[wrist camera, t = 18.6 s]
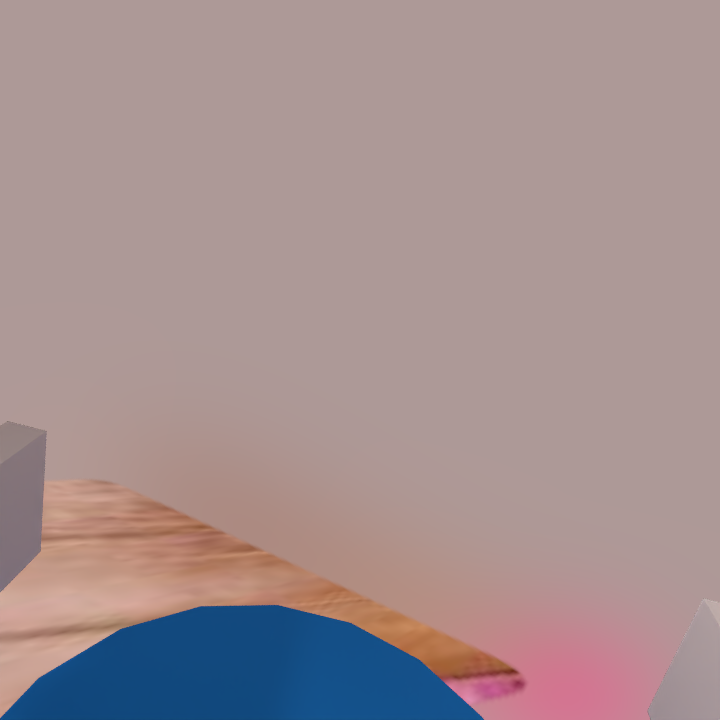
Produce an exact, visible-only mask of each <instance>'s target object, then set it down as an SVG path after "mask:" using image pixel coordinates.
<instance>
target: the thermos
mask: <svg viewBox="0 0 720 720" xmlns="http://www.w3.org/2000/svg"><path fill="white" fill-rule="evenodd" d="M0 720H484V719H483V718H482V717H481V716H480V715H479V714H478V713H477V712H476V711H475V710H474V709H473V708H472V707H470V706H469V705H468V704H467V703H466V702H465V701H464V700H463V699H462V698H461V697H460V696H458V695H457V694H456V693H455V692H454V691H453V690H452V689H451V688H450V687H449V686H447V685H446V684H445V683H444V682H443V681H442V680H441V679H440V678H439V677H438V676H437V675H435V674H434V673H433V672H432V671H431V670H430V669H429V668H428V667H427V666H426V665H424V664H423V663H422V662H421V661H420V660H419V659H417V658H415V657H413V656H411V655H409V654H408V653H406V652H404V651H402V650H400V649H398V648H396V647H395V646H393V645H391V644H389V643H387V642H385V641H383V640H381V639H380V638H378V637H376V636H374V635H372V634H370V633H368V632H366V631H365V630H363V629H361V628H359V627H357V626H355V625H353V624H352V623H349V622H345V621H340V620H336V619H332V618H328V617H324V616H320V615H316V614H312V613H308V612H304V611H299V610H295V609H291V608H287V607H283V606H279V605H256V606H200V607H197V608H193V609H190V610H186V611H183V612H179V613H176V614H172V615H169V616H165V617H162V618H158V619H155V620H151V621H147V622H144V623H140V624H137V625H133V626H130V627H126V628H123V629H120V630H118V631H117V632H115V633H113V634H112V635H110V636H108V637H107V638H105V639H103V640H102V641H100V642H98V643H97V644H95V645H93V646H92V647H90V648H88V649H87V650H85V651H83V652H81V653H80V654H78V655H76V656H75V657H73V658H71V659H70V660H68V661H66V662H65V663H63V664H61V665H60V666H58V667H56V668H55V669H53V670H51V671H50V672H48V673H46V674H45V675H43V676H41V677H40V678H38V679H37V680H36V681H35V682H34V683H33V685H32V686H31V687H30V688H29V689H28V690H27V691H26V692H25V693H24V694H23V695H22V696H21V697H20V698H19V699H18V700H17V701H16V702H15V703H14V704H13V705H12V707H11V708H10V709H9V710H8V711H7V712H6V713H5V714H4V715H3V716H2V717H1V718H0Z"/></svg>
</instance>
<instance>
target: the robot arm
mask: <svg viewBox="0 0 720 720" xmlns="http://www.w3.org/2000/svg"><path fill="white" fill-rule="evenodd" d="M45 451H46V431H44V430H40V429H36V428H32V427H29V426H25V425H21V424H17V423H13V422H8V421H7V422H6V423H4V424H3V425H1V426H0V592H1V591H2V590H3V589H4V588H5V587H6V586H7V585H8V584H9V583H10V582H11V581H12V580H13V579H14V578H15V577H16V576H17V575H18V574H19V573H20V572H21V571H22V570H23V569H24V568H25V567H26V566H27V565H28V564H29V563H30V562H31V561H32V560H33V559H34V557H35V556H36V555H37V554H38V553H39V552H40V551H41V531H42V511H43V491H44V471H45ZM648 714H649V717H650V719H651V720H720V603H719V602H715V601H712V600H708V599H703V600H702V602H701V604H700V606H699V608H698V610H697V612H696V615H695V616H694V619H693V620H692V622H691V624H690V626H689V628H688V630H687V632H686V634H685V636H684V638H683V640H682V642H681V644H680V646H679V648H678V650H677V652H676V654H675V656H674V659H673V661H672V662H671V665H670V666H669V669H668V671H667V673H666V675H665V677H664V679H663V681H662V683H661V685H660V687H659V689H658V691H657V693H656V695H655V697H654V699H653V701H652V703H651V705H650V707H649V709H648Z"/></svg>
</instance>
